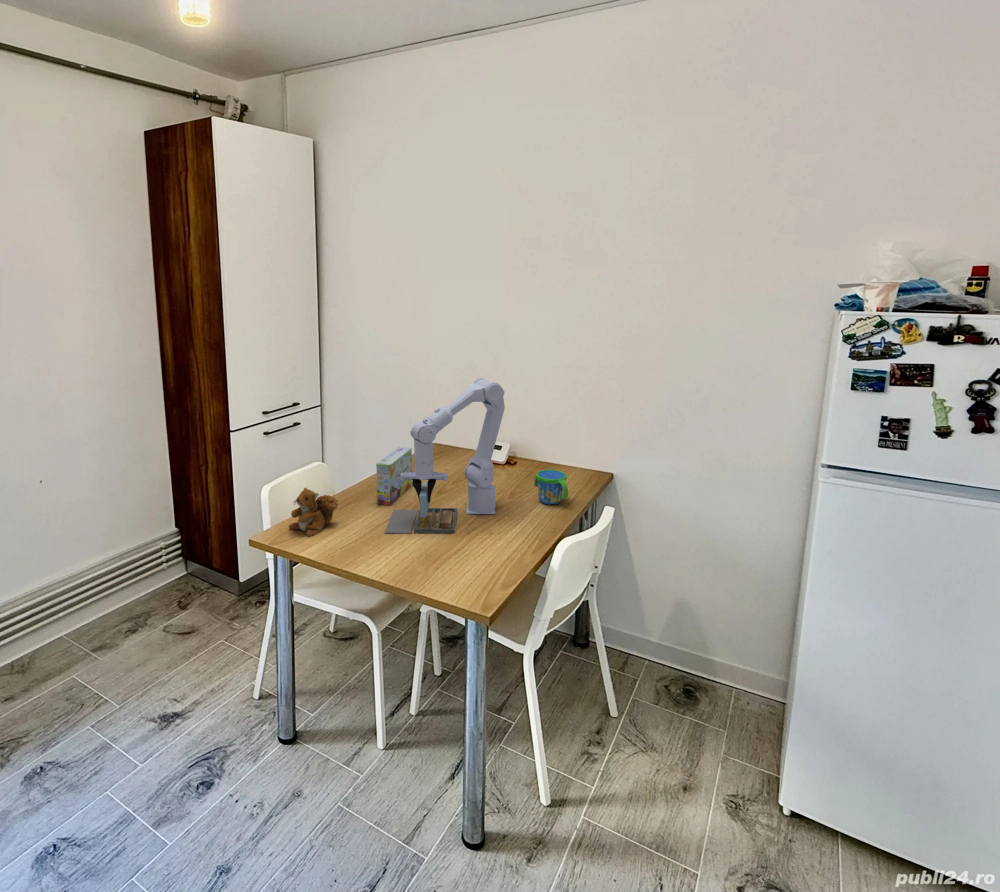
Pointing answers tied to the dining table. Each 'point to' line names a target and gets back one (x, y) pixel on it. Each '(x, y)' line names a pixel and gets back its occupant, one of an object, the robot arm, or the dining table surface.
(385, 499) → the snack box
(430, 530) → the metal rack
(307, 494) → the stuffed squirrel
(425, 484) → the blue-grey rectangular block
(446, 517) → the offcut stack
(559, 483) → the snack cup
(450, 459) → the dining table surface
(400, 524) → the charcoal mat
